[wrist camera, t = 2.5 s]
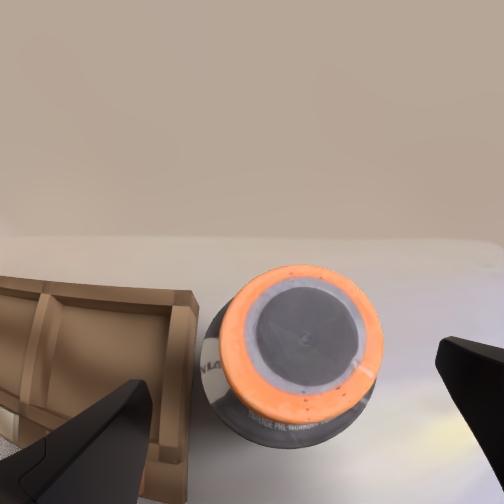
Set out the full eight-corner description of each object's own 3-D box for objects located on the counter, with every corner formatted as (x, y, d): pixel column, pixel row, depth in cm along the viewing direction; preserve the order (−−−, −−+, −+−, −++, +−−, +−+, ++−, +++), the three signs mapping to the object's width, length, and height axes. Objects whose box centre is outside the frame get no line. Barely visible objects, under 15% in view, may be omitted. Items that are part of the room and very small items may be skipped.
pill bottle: (217, 424, 15) (147, 436, 5) (235, 332, 18) (205, 216, 8) (318, 436, 14) (413, 462, 4) (329, 344, 17) (411, 243, 7)
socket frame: (186, 500, 12) (175, 512, 10) (-31, 408, 12) (-50, 402, 10) (199, 306, 19) (191, 290, 16) (-7, 285, 19) (-22, 272, 17)
